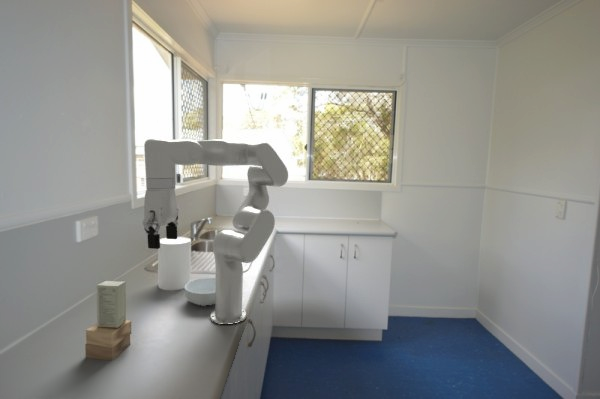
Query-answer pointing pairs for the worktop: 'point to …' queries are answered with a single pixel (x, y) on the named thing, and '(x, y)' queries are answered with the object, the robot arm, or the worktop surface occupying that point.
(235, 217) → the robot arm
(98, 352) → the walnut base block
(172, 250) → the canister
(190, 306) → the worktop surface
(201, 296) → the cereal bowl
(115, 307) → the skincare box
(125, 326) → the oak top block
